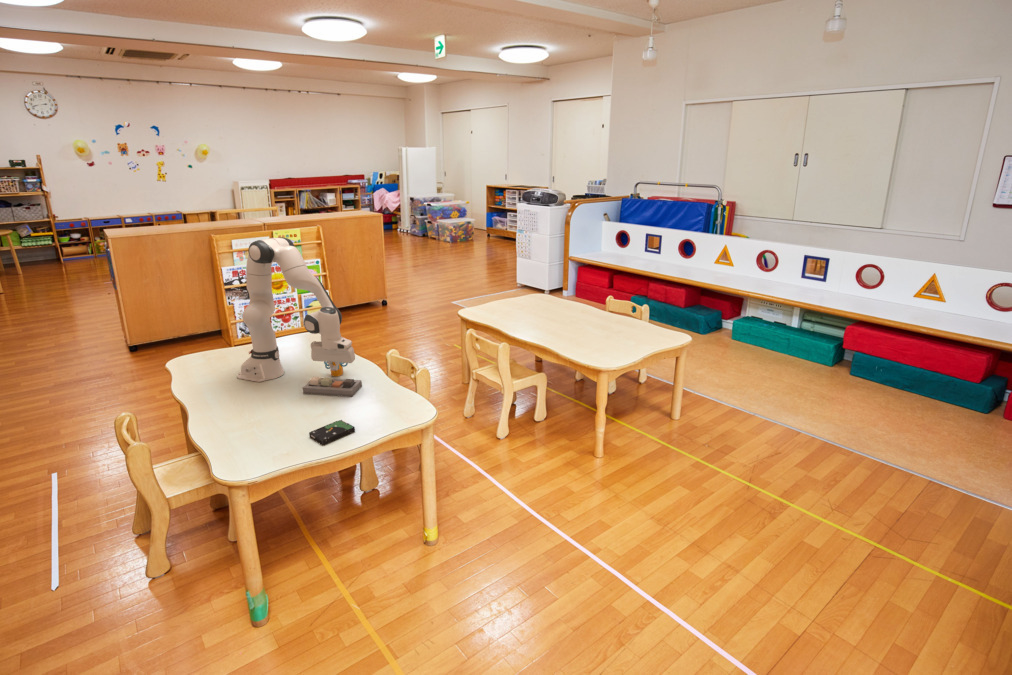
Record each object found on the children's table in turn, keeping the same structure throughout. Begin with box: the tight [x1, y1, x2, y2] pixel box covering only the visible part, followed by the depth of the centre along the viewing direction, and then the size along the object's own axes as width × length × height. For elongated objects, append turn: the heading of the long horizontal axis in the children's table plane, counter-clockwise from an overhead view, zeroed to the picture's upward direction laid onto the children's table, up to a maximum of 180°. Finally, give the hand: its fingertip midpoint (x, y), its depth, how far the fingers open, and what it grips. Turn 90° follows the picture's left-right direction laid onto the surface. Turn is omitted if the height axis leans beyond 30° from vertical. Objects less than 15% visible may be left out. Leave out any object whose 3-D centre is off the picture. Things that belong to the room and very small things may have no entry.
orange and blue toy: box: [323, 361, 349, 377], centre depth 279 cm, size 12×10×15 cm
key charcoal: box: [343, 378, 355, 387], centre depth 261 cm, size 4×4×2 cm
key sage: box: [321, 377, 332, 386], centre depth 263 cm, size 4×4×2 cm
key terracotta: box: [332, 381, 343, 388], centre depth 262 cm, size 4×4×2 cm
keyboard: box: [302, 377, 363, 398], centre depth 263 cm, size 24×12×3 cm, turn 82°
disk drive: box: [308, 419, 356, 446], centre depth 224 cm, size 10×3×15 cm
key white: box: [309, 376, 322, 385], centre depth 263 cm, size 4×4×2 cm
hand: (334, 370), depth 260 cm, fingers closed
